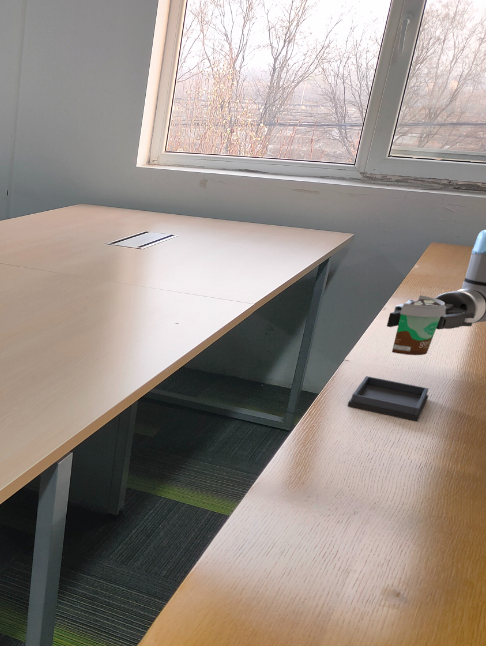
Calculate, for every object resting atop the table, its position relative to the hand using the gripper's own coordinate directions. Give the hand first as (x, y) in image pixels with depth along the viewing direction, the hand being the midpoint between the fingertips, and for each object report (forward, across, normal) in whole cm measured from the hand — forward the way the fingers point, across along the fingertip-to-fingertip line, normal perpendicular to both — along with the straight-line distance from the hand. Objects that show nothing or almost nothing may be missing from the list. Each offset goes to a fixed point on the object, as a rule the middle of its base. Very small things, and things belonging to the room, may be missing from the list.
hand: (397, 321), depth 156 cm
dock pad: (-4, 0, -17) cm, 18 cm away
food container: (-5, -2, -6) cm, 9 cm away
